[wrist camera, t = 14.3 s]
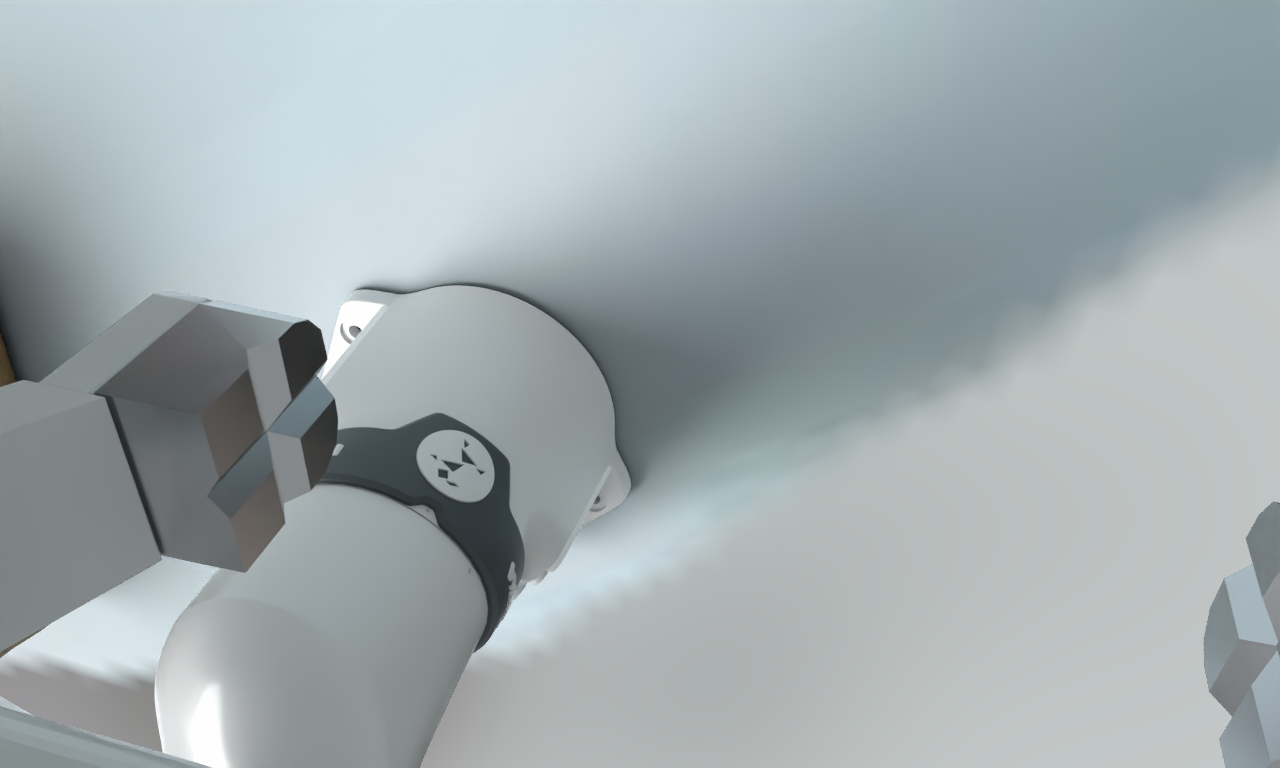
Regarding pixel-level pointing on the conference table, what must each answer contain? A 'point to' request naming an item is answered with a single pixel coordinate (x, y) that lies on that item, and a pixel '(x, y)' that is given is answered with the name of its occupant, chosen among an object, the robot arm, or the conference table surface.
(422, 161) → the conference table surface
